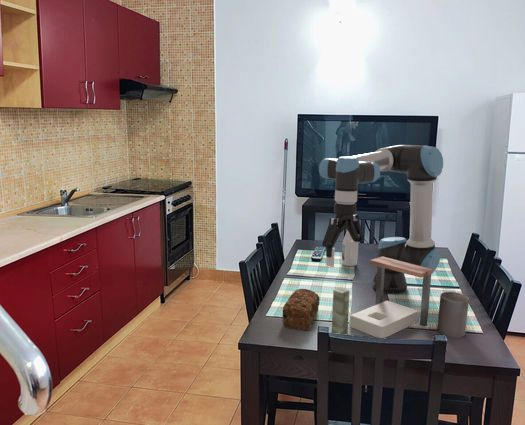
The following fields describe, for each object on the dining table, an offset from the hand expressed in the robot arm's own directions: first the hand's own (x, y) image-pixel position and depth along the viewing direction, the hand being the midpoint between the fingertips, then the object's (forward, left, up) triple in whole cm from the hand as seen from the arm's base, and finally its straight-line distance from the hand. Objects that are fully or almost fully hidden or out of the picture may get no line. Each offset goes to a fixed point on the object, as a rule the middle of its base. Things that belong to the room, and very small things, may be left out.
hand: (342, 262), depth 179 cm
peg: (0, +1, -26) cm, 26 cm away
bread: (+2, -16, -26) cm, 31 cm away
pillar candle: (-31, +27, -26) cm, 48 cm away
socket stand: (-19, +7, -26) cm, 33 cm away
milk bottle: (-69, -50, -26) cm, 89 cm away
